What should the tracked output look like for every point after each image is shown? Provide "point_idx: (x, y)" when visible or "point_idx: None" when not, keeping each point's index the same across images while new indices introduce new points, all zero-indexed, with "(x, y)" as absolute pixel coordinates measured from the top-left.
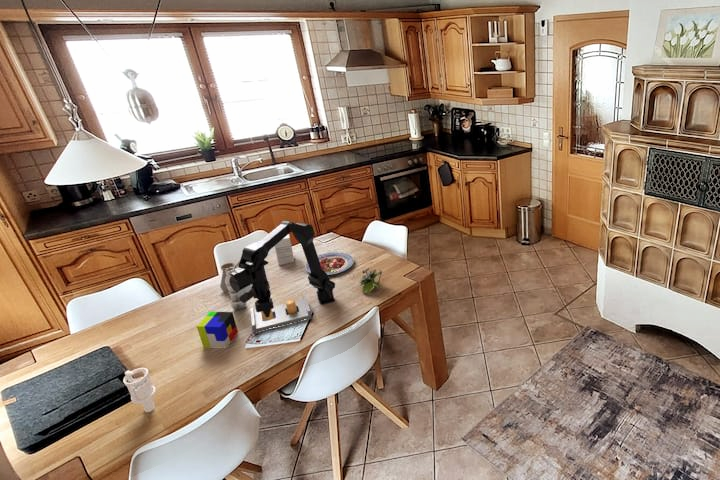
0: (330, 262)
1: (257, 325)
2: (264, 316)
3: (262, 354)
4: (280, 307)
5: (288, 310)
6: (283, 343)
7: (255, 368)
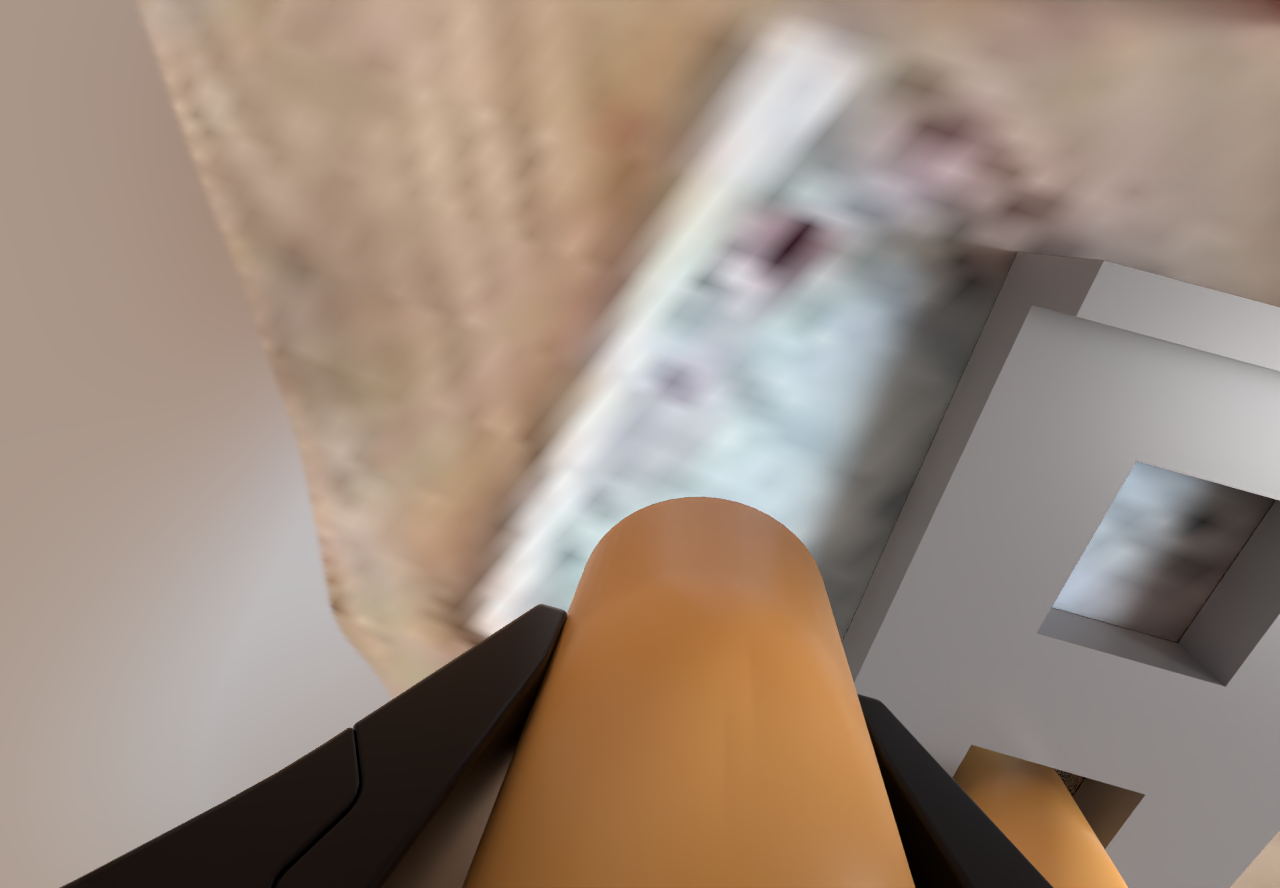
0: None
1: (1104, 358)
2: (593, 591)
3: (475, 199)
4: (1236, 771)
5: (1016, 818)
6: (530, 484)
7: (251, 20)
